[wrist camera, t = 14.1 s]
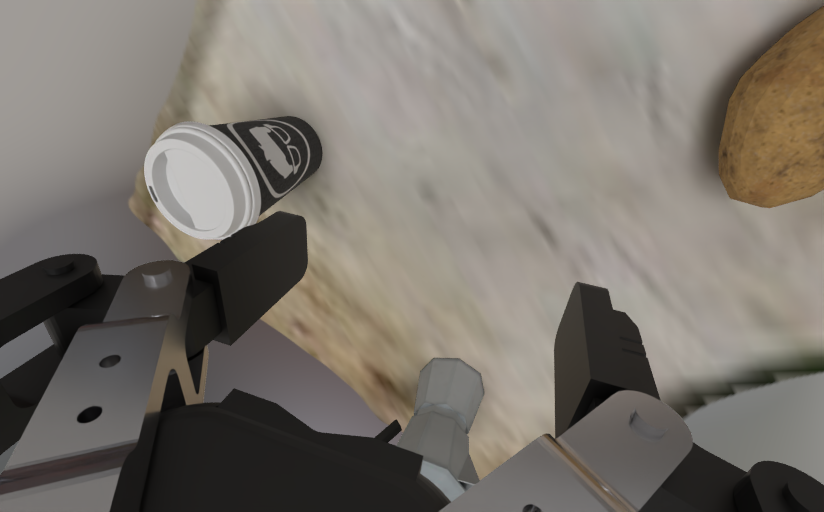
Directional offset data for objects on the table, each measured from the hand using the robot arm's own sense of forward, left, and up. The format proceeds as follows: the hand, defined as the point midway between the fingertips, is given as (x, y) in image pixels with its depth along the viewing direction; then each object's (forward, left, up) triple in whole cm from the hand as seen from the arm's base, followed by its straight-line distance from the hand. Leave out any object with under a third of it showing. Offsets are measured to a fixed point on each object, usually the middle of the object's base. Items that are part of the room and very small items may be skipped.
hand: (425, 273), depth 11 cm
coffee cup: (+22, -5, -28) cm, 36 cm away
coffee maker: (+17, +29, -28) cm, 44 cm away
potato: (-19, +5, -28) cm, 34 cm away
